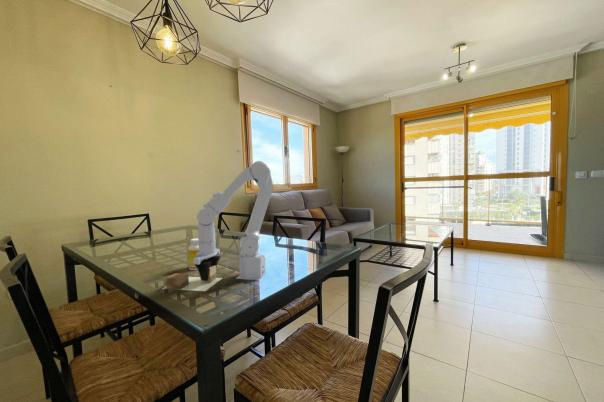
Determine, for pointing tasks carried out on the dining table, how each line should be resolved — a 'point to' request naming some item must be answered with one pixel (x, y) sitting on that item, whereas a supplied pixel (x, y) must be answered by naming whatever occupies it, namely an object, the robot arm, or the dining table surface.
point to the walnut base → (177, 281)
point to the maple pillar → (210, 275)
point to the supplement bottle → (193, 253)
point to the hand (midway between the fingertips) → (208, 278)
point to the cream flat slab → (197, 284)
